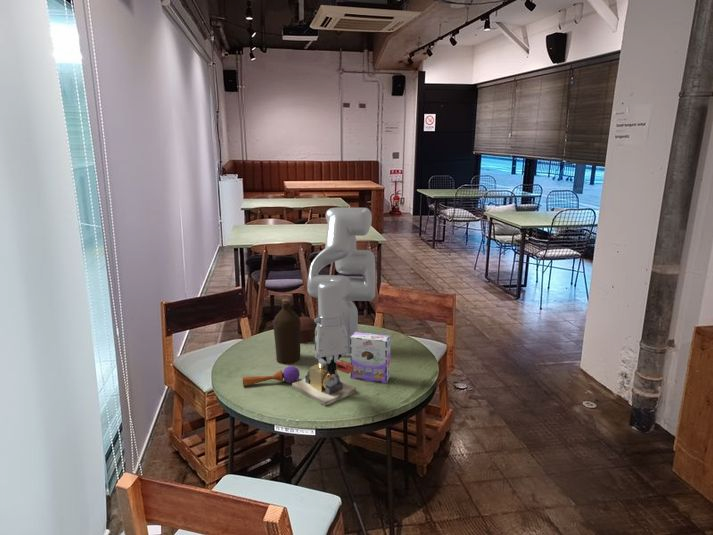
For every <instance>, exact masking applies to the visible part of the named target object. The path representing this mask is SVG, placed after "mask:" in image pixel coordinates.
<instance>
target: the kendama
mask: <svg viewBox="0 0 713 535" xmlns="http://www.w3.org/2000/svg"><path fill="white" fill-rule="evenodd" d="M300 376H301V375H300V370H299V369H298V367H297V366H294V365H289V366H287V367H285V368H284V369H283V371H282V370H279V371H278V372H276V373H275V374H273V375H261V376H243V377H242V386H243V387H248V386H250V385H255V384H259V383H262V382H266V381H270V380H275V381H278V382H279V381H280V382H282V383H283V382H284V381H285V382H286V383H288V384H289V383H290V384H292V383H295V382H297V381H299V378H300Z"/></svg>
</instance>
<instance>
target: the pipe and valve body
mask: <svg viewBox="0 0 713 535" xmlns="http://www.w3.org/2000/svg"><path fill="white" fill-rule="evenodd" d="M304 378H305V382H306V383H308V384H310V385H311V387H313V388H315V389H317V390H319V391H321V392H323V391H325V392H326V394H328V395H331V394H333V393H335V392H338V391H340V390H342V389H343V383H342V382H340V380H341V379H340V376H339V374H338V370H336V371H335V374H332V375H330V374H329V372H327V369H326V368H320V367H319V363H316V364H313V365H312V366H310V367H309V370H307V374H306V375H305V376H304Z"/></svg>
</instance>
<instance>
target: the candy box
mask: <svg viewBox="0 0 713 535" xmlns="http://www.w3.org/2000/svg"><path fill="white" fill-rule="evenodd" d="M349 357H350V364H352V365H354V371H353V372H351V373H350V379H352V378H353V379H354V380H361V381H366V382H368V381H369V382H374V383H381V384H387V383H388V381H389V380H390V378H391V335H385V334H378V333H377V334H376V333H369V332H361V331H358V332H355V333H354V334H353V335H352V336H351V337H350V356H349Z"/></svg>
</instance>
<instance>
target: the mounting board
mask: <svg viewBox="0 0 713 535" xmlns="http://www.w3.org/2000/svg"><path fill="white" fill-rule="evenodd" d="M340 382H342V383H343V389H342V390H340V391H338V392H335V393H333V394H331V395H328V394H326V392H325V391H323V392H321V391H319V390H317V389H315V388H313V387H311V385H310V384H308V383H306V382H305V377H304V378H303V379H300V380H299V379H298V380H297V381H296V382H294V383H291V387H292V388H293V389H294V390H296V391H297V392H300V393H301V394H303V395H305V396H306V397H308V398H309V399H312V400H313V399H314V400H313V401H315V400H316V401H315V402H317V403H318V402H319V403H318V404H320V403H321V404H320V405H322V404H323V405H322V406H324V407H326V405H327V406H329V405H331V404H333V403H336V402H337V400H338V401H340V400H342V399H344V398H346V397H349V396H350V395H352V394H355V393H356V392H357V387H356V386H353V385H351V384H349V383H348V382H346V381H344V380H341V379H340ZM354 392H355V393H354ZM349 394H350V395H349ZM345 396H346V397H345ZM343 397H344V398H343ZM341 398H342V399H341ZM339 399H340V400H339ZM330 403H331V404H330ZM328 404H329V405H328Z"/></svg>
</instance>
